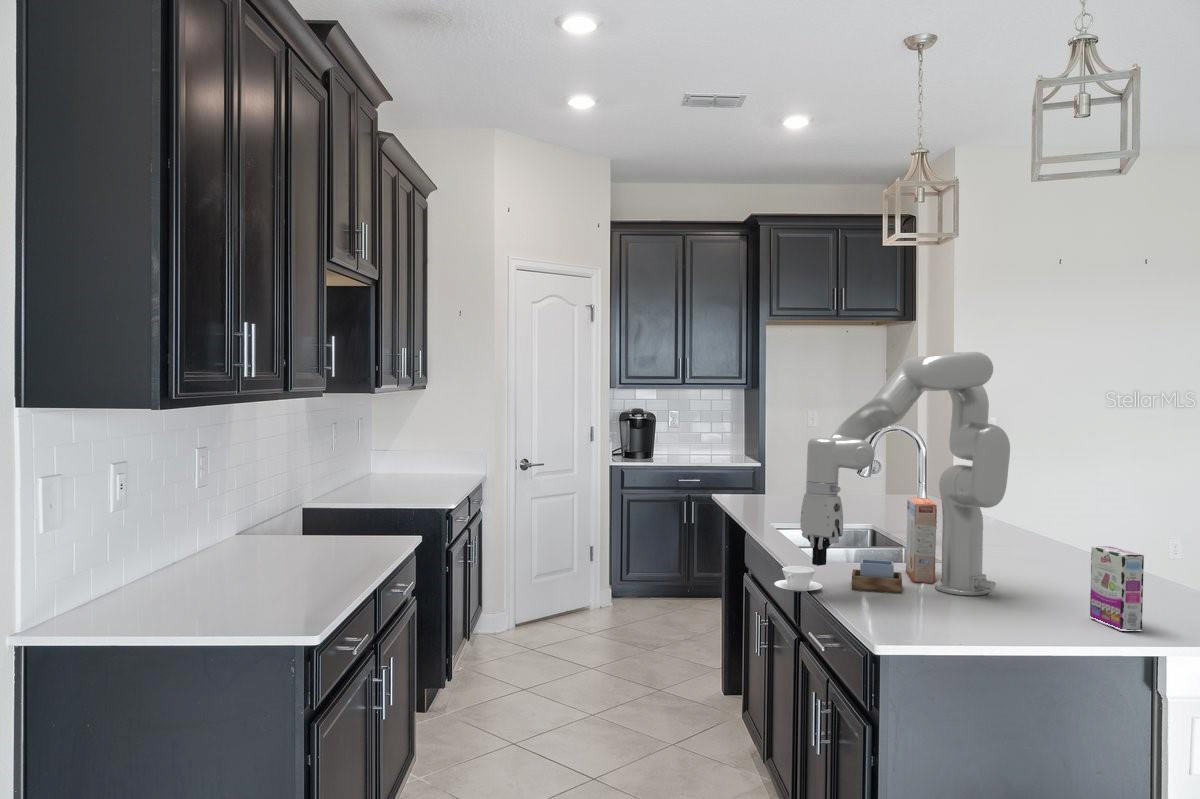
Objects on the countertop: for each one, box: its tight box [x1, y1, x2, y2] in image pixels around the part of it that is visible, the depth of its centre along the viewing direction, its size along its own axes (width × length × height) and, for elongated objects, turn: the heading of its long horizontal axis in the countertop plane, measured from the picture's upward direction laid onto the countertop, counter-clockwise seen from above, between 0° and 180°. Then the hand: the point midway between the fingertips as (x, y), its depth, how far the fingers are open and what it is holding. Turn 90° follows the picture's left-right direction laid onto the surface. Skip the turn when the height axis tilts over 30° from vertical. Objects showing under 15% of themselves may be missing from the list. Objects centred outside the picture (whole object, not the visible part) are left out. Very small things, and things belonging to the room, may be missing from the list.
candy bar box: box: [1089, 545, 1145, 631], centre depth 196 cm, size 11×5×16 cm, turn 5°
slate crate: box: [859, 558, 895, 578], centre depth 230 cm, size 8×6×6 cm
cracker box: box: [905, 497, 938, 584], centre depth 243 cm, size 14×6×21 cm, turn 168°
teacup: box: [773, 565, 824, 593], centre depth 228 cm, size 12×12×5 cm
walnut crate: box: [851, 568, 903, 594], centre depth 230 cm, size 12×9×4 cm
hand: (819, 564), depth 219 cm, fingers closed
